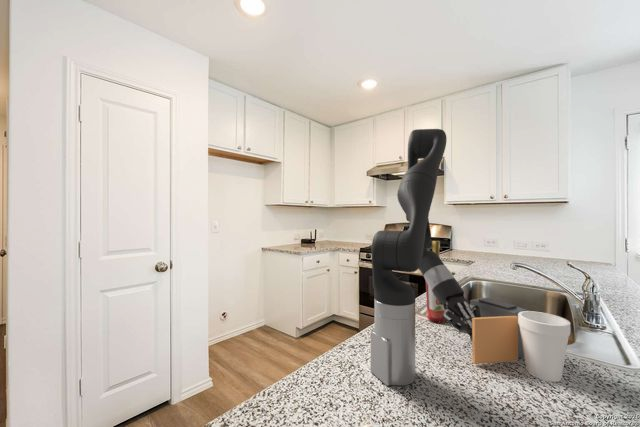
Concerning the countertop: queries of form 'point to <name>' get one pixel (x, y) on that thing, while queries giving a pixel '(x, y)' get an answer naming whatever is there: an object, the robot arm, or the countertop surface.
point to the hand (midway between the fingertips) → (482, 344)
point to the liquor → (433, 305)
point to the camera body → (499, 313)
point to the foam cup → (544, 343)
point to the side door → (494, 339)
